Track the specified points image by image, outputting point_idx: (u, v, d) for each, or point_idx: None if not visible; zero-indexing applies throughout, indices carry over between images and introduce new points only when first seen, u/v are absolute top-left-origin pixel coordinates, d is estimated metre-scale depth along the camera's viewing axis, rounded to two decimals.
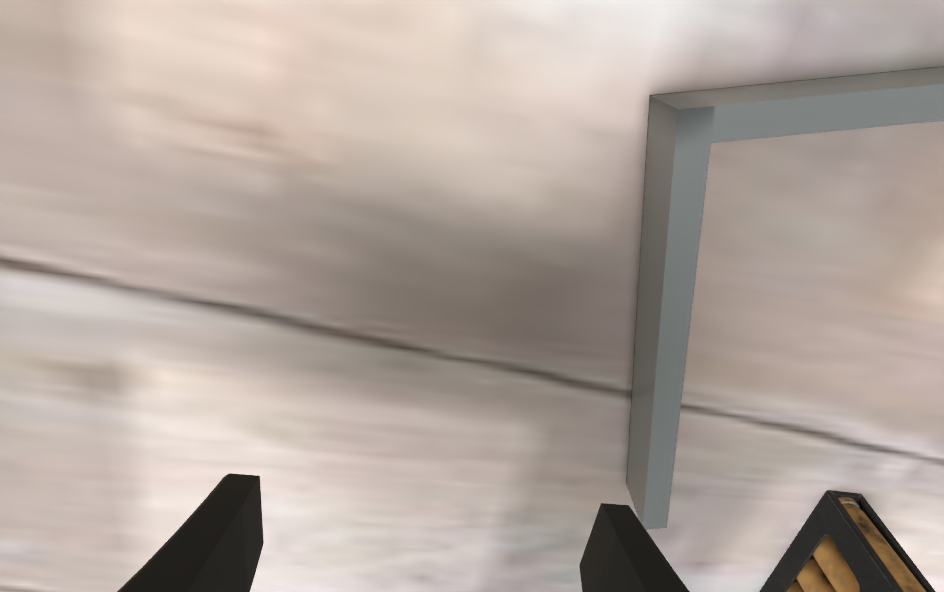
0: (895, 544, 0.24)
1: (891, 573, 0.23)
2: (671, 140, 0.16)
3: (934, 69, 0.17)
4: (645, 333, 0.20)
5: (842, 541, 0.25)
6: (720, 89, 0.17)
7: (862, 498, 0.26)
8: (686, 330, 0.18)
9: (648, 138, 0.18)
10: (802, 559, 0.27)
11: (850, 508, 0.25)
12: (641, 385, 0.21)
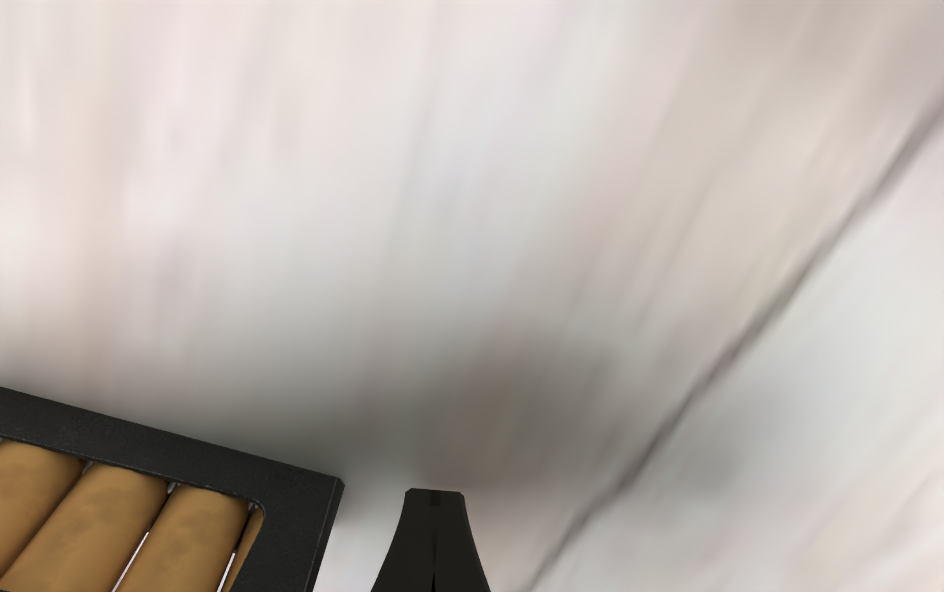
0: None
1: None
2: None
3: None
4: None
5: None
6: None
7: None
8: None
9: None
10: None
11: None
12: None
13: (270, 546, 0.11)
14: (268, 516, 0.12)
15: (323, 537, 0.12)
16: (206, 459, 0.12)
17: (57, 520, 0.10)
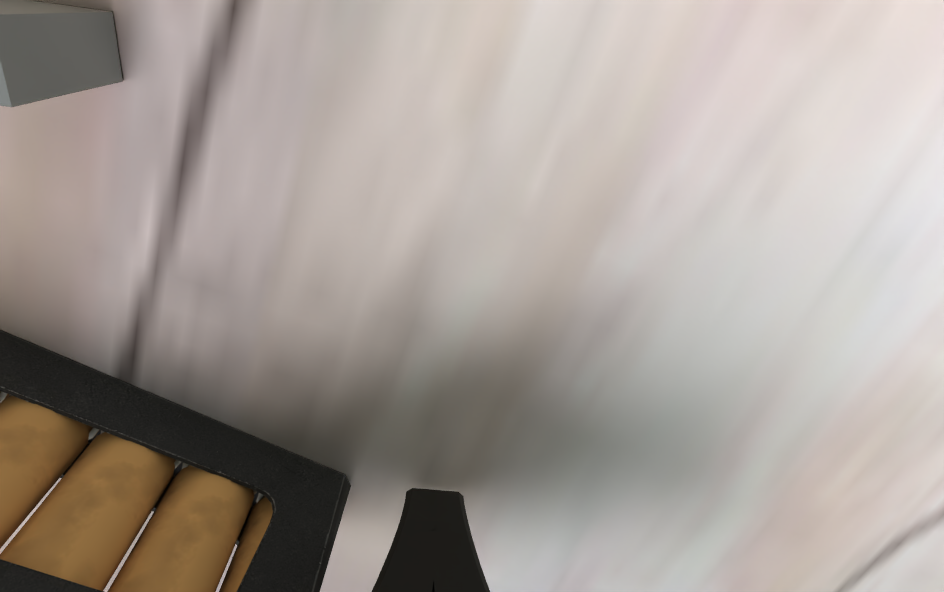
0: None
1: None
2: None
3: None
4: None
5: None
6: None
7: None
8: None
9: None
10: None
11: None
12: None
13: (280, 542, 0.11)
14: (278, 510, 0.11)
15: (330, 538, 0.12)
16: (219, 443, 0.12)
17: (66, 490, 0.10)
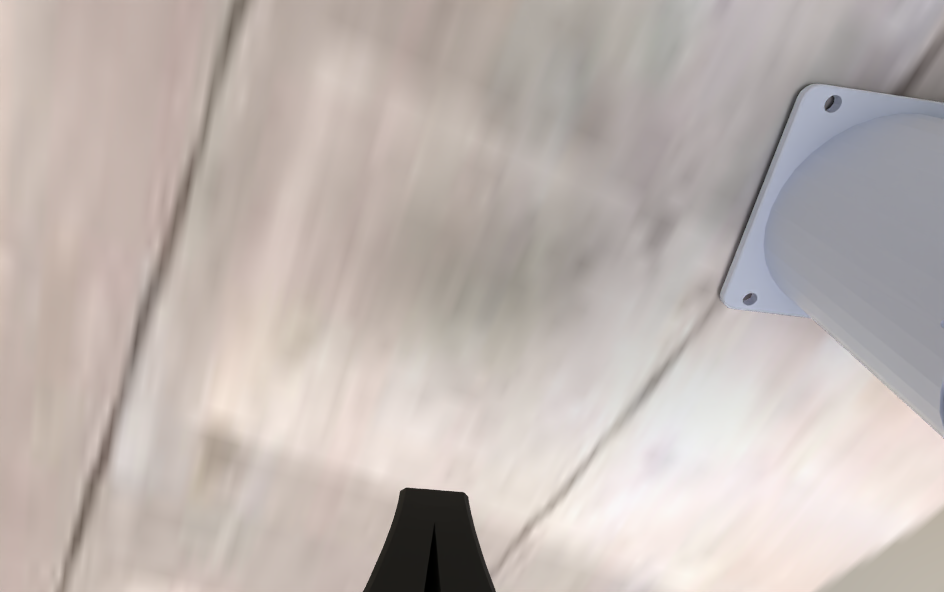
0: None
1: None
2: None
3: None
4: None
5: None
6: None
7: None
8: None
9: None
10: None
11: None
12: None
13: None
14: None
15: None
16: None
17: None
